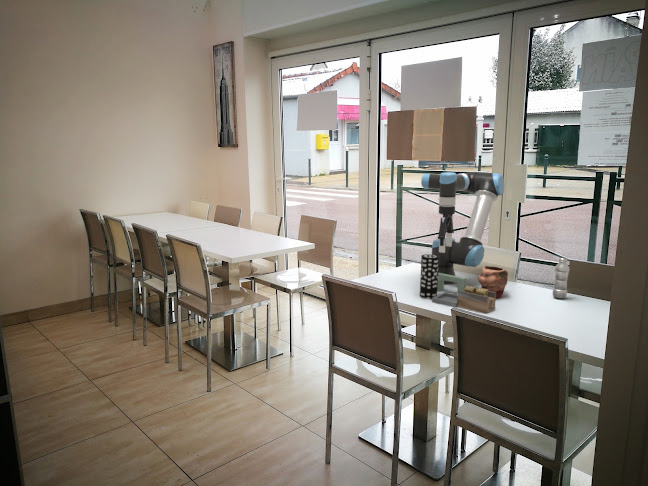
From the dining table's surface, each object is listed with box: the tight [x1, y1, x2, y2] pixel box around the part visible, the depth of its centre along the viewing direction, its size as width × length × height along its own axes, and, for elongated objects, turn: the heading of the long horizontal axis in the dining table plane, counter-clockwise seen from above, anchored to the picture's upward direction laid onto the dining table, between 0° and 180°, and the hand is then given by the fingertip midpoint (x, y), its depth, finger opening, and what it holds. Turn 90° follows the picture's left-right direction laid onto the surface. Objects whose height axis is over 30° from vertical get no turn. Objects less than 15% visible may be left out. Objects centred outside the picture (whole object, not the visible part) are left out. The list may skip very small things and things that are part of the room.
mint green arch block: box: [437, 273, 467, 295], centre depth 257 cm, size 6×15×8 cm, turn 49°
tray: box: [431, 291, 458, 308], centre depth 243 cm, size 12×12×2 cm
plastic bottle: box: [552, 256, 570, 300], centre depth 248 cm, size 6×7×20 cm
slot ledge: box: [456, 291, 497, 314], centre depth 234 cm, size 10×14×8 cm
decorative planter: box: [477, 265, 509, 299], centre depth 252 cm, size 20×12×14 cm, turn 130°
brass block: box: [465, 285, 478, 294], centre depth 235 cm, size 4×4×4 cm
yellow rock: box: [476, 287, 488, 297], centre depth 232 cm, size 4×4×4 cm
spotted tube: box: [419, 253, 439, 300], centre depth 249 cm, size 8×8×20 cm
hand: (445, 249), depth 248 cm, fingers open, 13 cm apart
